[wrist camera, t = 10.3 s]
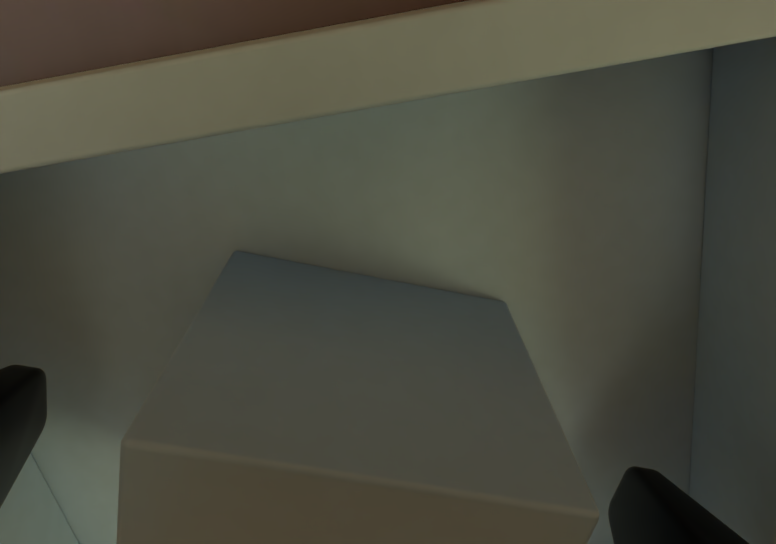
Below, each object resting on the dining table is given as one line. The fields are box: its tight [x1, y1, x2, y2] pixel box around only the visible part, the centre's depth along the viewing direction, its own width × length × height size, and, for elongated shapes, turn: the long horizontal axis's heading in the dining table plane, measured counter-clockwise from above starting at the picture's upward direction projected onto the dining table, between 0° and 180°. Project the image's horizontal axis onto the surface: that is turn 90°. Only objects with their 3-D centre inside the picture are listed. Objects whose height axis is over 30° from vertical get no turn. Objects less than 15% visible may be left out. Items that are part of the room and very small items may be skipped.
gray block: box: [116, 251, 599, 544], centre depth 8 cm, size 4×4×4 cm
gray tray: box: [0, 0, 776, 544], centre depth 9 cm, size 14×12×3 cm
